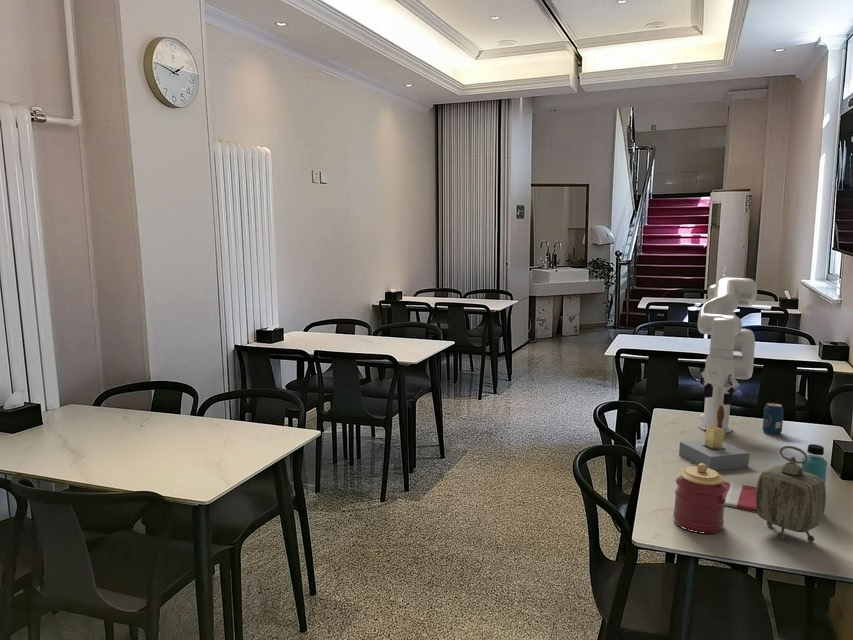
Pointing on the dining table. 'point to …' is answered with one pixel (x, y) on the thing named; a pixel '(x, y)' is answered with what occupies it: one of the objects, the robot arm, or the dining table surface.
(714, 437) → the wooden square peg
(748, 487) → the dish towel
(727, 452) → the well block
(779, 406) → the soda can
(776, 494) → the tabletop clock
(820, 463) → the beverage bottle
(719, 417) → the hand bell
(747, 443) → the dining table surface
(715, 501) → the canister
